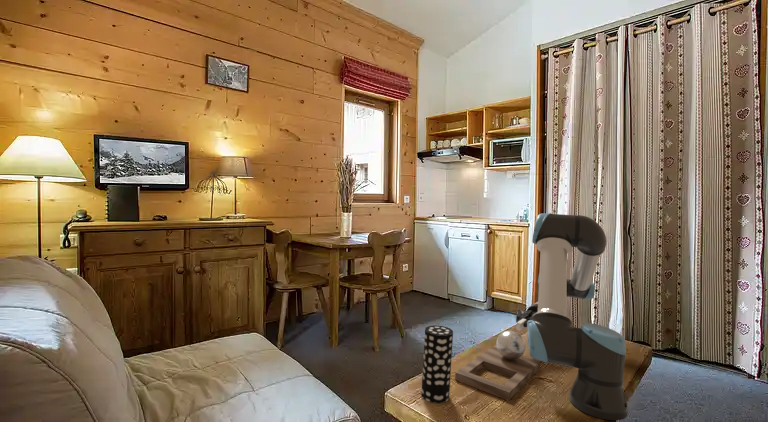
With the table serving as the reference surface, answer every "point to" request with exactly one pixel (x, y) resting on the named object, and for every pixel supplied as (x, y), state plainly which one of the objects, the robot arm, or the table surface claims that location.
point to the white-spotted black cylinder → (437, 364)
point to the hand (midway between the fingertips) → (518, 326)
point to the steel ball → (510, 345)
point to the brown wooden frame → (496, 362)
